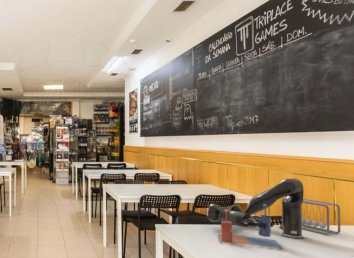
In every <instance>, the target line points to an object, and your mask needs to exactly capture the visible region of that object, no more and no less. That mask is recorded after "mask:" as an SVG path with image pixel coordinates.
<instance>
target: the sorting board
mask: <svg viewBox="0 0 354 258" xmlns="http://www.w3.org/2000/svg"><path fill="white" fill-rule="evenodd" d="M218 236H219V240H220V242H221V243H224V242H223V241H221V233H220V234H218ZM226 243H228V244H238V245H248V246H255V247H257V246H258V247H265V248H266V247H267V248H276V249H282V246H281V245H280V244H279V243H278V242H277V241H276V240H275V239H269V238H260V237H250V236H249V237H248V236H239V235H232V242H226Z"/></svg>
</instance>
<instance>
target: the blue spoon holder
mask: <svg viewBox="0 0 354 258" xmlns="http://www.w3.org/2000/svg"><path fill="white" fill-rule="evenodd" d="M263 207H264V210H263V211H264V214H263V215H262V214H260V215H258V218H259V223H264V224H266V225H267V228H262V227H258V236H261V237H265V238H271V236H272V227H271V223H272V217H271V216H269V215H267V209H268V208H267V204H264V205H263Z"/></svg>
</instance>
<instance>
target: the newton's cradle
mask: <svg viewBox="0 0 354 258" xmlns="http://www.w3.org/2000/svg"><path fill="white" fill-rule="evenodd" d="M285 198H286V197H283V198H281V220H282V221H281V223H282V224H283V200H284V199H285ZM302 204H304V206H308V204H309V205H310V206H316V209H319V211H321V208H320V207H324V208H326V223H325V222H324V221H323V218H320V220H321V222H319V221H318V220H317V219H316V217H317V216H318V213H316V214H315V215H313V218H314V220H312V219H311V218H310V215H311V212H312V211H313V213H315V210H314V209H312V210H310V211H309V210H308V208H306V210H307V212H308V211H309V215H307V217H308V219H307V218H305V217H304V214H305V213H306V210H304V211H303V213H304V214H303V213H302V230H304V231H307V232H313V233H316V234H320V235H325V236H327V235H331V234H335V235H338V234H339V235H340V233H341V207H340V205H338V204H337V203H332V202H326V201H320V200H313V199H308V198H303V203H302ZM329 206H335V207H336V208H337V231H334V230H331V229H330V208H329ZM319 213H320V216H324V215H325V210H323V211H322V213H323V215H322V213H321V212H319ZM314 229H315V230H314Z"/></svg>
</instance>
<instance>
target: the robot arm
mask: <svg viewBox="0 0 354 258" xmlns="http://www.w3.org/2000/svg"><path fill="white" fill-rule="evenodd" d="M304 190H305V189H304V184H303V183H302V180H300V179H298V178H284V179H283V180H281V181H279V182H278V183H277V184H275V185H273V187H271V188H269V189H266V190H265V191H262V192H260V193H258V194H256V195H254V196H252V197H251V199H250V200H249V203H248V205H247V207H246V209H245V211H243V210H242V208H241V206H240V205H239V204H231V205H228V206H221V205H219V204H216V203H210V204H209V205H208V208H207V219H208V220H209V222H213V223H215V222H216V223H217V222H219V221H220V222H221V221H226V213H225V210H228V211H229V212H228V213H227V221H229V222H232V225H236V226H240V227H244V228H249V227H251V228H259V227H262V228H267V225H266V224H264V223H259V217H257V218H256V217H251V216H254V215H255V214H257V213H260V212H261V211H262V212H263V211H264V207H263V205H264V204H267V208H266V209H268V208H270V207H272V206H273V205H274V204H275V203H276V202H278V200H280V199H283V198H285V199H284V200H283V223H282V224H281V225H279V228H280V229H281V230H282V235H283V237H287V238H290V239H291V238H292V239H303V229H302V227H303V226H302V218H303V216H302V214H303V209H302V208H303V207H302V206H303V204H304V203H303V201H304V200H303V199H304ZM272 218H273V219H274V220H276V221H278V222H282V219H279V218H276V216H275V215H273V217H272ZM273 227H274V222H271V228H273Z"/></svg>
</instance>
